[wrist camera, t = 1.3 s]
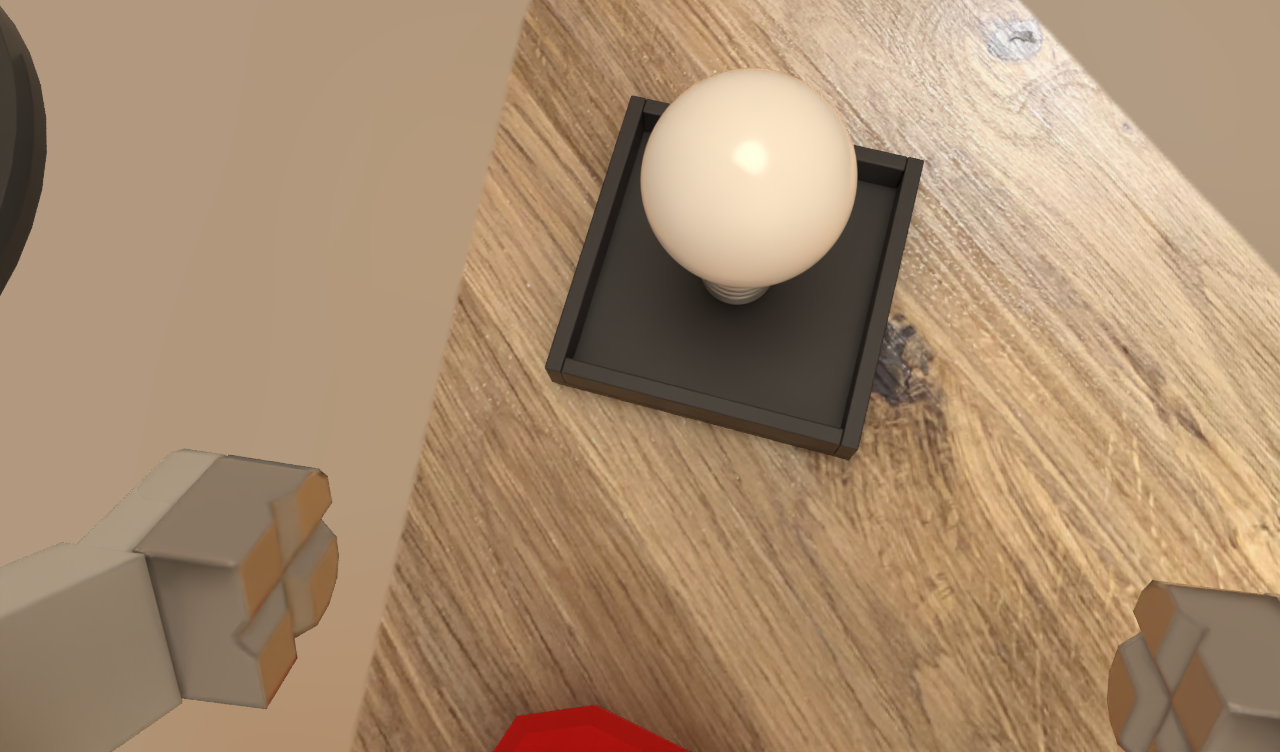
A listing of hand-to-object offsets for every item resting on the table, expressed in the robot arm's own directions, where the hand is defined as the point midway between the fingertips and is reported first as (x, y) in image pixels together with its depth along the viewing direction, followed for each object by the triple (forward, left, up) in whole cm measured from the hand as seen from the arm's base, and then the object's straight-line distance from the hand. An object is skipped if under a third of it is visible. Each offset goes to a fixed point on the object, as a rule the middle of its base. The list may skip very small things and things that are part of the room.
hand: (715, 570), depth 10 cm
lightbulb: (-2, +12, -24) cm, 27 cm away
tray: (-2, +12, -24) cm, 27 cm away
